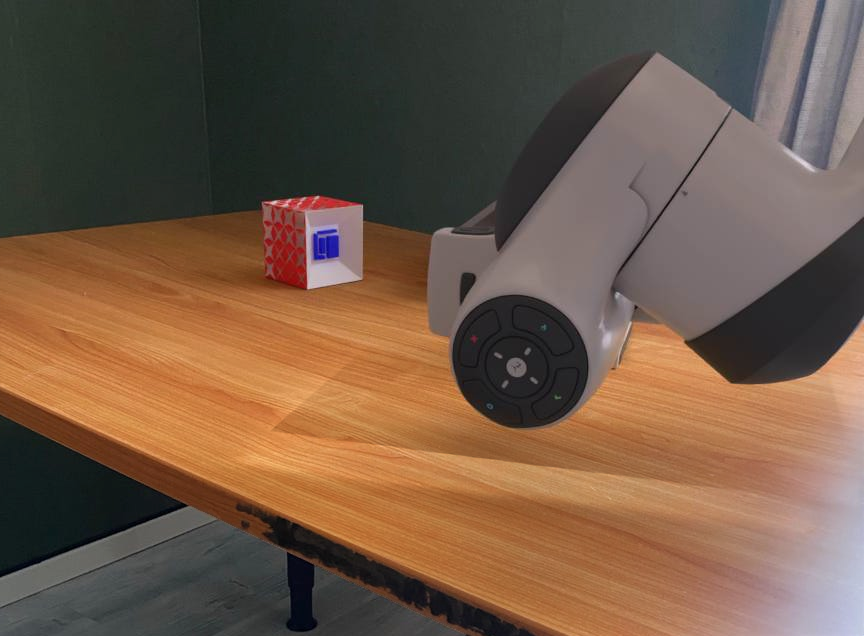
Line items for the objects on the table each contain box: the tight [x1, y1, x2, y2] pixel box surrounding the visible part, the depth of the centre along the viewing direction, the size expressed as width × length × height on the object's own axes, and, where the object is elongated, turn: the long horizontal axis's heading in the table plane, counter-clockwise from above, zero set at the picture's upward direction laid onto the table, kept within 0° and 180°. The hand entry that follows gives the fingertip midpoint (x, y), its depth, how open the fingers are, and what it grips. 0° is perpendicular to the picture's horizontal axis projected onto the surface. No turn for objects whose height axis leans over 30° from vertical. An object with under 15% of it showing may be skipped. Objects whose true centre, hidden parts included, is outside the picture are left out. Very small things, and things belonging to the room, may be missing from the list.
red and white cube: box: [261, 195, 364, 290], centre depth 111 cm, size 8×8×8 cm
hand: (590, 253), depth 73 cm, fingers open, 8 cm apart
